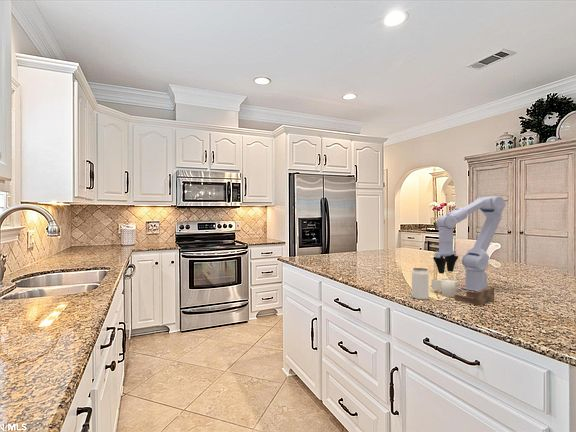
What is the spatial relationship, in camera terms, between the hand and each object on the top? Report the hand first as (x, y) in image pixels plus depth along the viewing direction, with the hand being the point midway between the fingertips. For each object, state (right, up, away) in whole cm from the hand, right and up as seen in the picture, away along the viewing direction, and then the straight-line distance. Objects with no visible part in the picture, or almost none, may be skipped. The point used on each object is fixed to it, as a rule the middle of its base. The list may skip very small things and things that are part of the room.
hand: (445, 272), depth 148 cm
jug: (-3, -9, -6) cm, 11 cm away
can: (-16, -9, -12) cm, 22 cm away
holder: (+3, -9, -15) cm, 17 cm away
